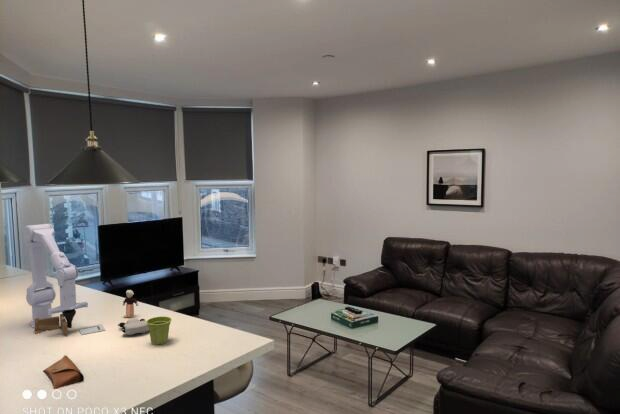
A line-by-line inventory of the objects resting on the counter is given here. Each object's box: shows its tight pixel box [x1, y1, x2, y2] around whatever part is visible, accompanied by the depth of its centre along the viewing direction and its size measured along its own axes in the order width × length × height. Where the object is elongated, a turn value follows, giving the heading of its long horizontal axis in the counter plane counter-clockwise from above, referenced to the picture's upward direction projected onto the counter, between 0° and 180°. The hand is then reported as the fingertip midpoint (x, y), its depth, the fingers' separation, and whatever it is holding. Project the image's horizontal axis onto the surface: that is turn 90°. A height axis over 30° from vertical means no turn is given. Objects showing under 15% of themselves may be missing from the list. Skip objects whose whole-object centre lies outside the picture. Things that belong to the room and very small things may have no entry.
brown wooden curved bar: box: [59, 313, 69, 336], centre depth 179 cm, size 14×2×5 cm, turn 35°
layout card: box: [78, 323, 106, 336], centre depth 182 cm, size 9×9×1 cm
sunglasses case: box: [42, 355, 85, 390], centre depth 140 cm, size 18×7×7 cm
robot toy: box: [117, 317, 149, 336], centre depth 180 cm, size 12×4×15 cm
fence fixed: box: [33, 315, 62, 335], centre depth 182 cm, size 5×12×6 cm, turn 124°
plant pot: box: [145, 315, 172, 345], centre depth 168 cm, size 9×9×9 cm
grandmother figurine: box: [122, 289, 139, 319], centre depth 197 cm, size 8×4×13 cm, turn 92°
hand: (69, 327), depth 179 cm, fingers closed
